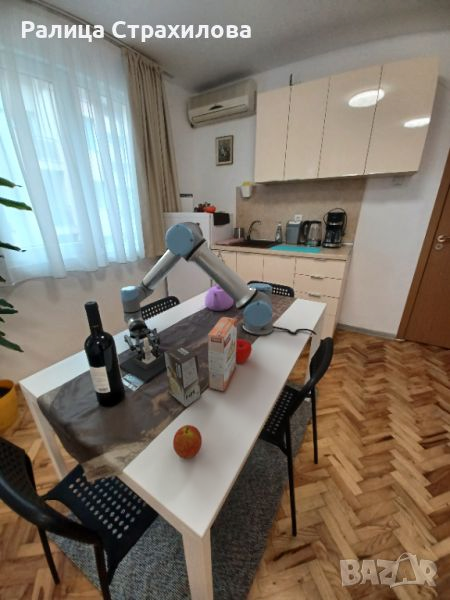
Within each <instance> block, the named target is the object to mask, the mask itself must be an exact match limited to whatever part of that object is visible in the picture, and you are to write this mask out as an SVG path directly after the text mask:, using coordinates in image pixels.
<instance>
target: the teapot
mask: <svg viewBox="0 0 450 600" xmlns="http://www.w3.org/2000/svg"><path fill="white" fill-rule="evenodd" d="M204 305H205V307H206V308H207V309H209V310H210V311H215V312H221V311H222V312H223V311H227V310H229V309H231V307H232V306H233V305H234V300H233V299H232V298H231V297H230V296H229V295H228V294H227V293H226V292H225V291H223V290H222V289H221V288H220V287H219V286H218V285H217V284H215V285H214V286H211V287H210V288H209V289H208V291H207V292H206V294H205V297H204Z"/></svg>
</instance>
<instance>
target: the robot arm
mask: <svg viewBox="0 0 450 600" xmlns="http://www.w3.org/2000/svg"><path fill="white" fill-rule="evenodd" d="M165 245H166V248H167V250H166V252H165V253H164V254H163V255H162V256H161V257H160V259H158V261H157V262H156V264H154V266H153V267H152V268H151V269H150V270H149V271H148V273H147V274H146V275H145V276H144V277H143V279H142V280H141V281H140V282H139V283H138V284H137V285H136V286H134V285H128V286H124V287H122V288H121V289H120V300H121V305H122V310H123V320H124V322H125V324H126V327H127V329H128V331H129V334H124V335H123V337H124V338H123V339H124V342H125V343H126V344H127V345H128V347H129V348H128V349H130V352H134V351H135V352H136V354H141V355H142V357H143V360H144V359H146V358H145V352H144V350H143V346H142V344H141V343H140V342H141V340H144V338H145V337H147V338H148V342H149V344H150V346H152V348H153V351H154V353H155V355H156V356H158V350H157V349H159V345H160V344H161V338H160V335H159V333H158V330H157V328H156V327H154V328H153V329H151V328H149V327H148V325H147V323H146V321H145V320H144V318H143V316H142V307H141V303H142V302H143V301H145V300H147V299H148V297H150V296H151V295H153V293H154V292H155V290H156V289H157V288H158V287H159V285H160V284H161V283H162V282H163V281H164V280H165V279H166V278H167V276H169V274H170V273H171V272H173V270H174V269H175V268H176V267H177V266H178V264H179V263H180V262H181V261H182V260H184V261H186V262H187V263H188V264H189V263H193V264H194V265H195V266H197V267H198V269H200V270H201V271H202V272H203V273H204V274H205V275H206V276H207V277H208V278H209V279H211V281H212V282H213V283H215V285H218V286H219V287H220V288H221V289H222V290H223V291H225V292H226V293H227V294H228V295H229V296H230V297H231V298H232V299H233V302H235V307H236V309H237V310H238V311H240V312H241V313H242V314H243V321H242V331H243V332H245V333H246V334H248V335H251V336H266V335H269V334H271V333H273V329H276V330H281V331H286V332H288V333H289V334H291V335H296V334H298V332H302V331H305V332H310V333H312V334H313V335H315V336H317V335H318V334H317V332H315V331H314V330H312V329H310V328H297V329H296V330H295V331H292V330H290V329H288V328H286V327H280V326H274V324H273V321H272V319H273V315H274V309H273V303H272V297H273V296H272V295H273V286H272V285H270V284H268V283H259V282H258V283H255V282H254V283H249V284H247V282H245V281H244V280H243V279H242V278H241V277H240V276H239V275H238V274H237V273H236V272H235V271H234V270H232V268H231V267H229V266H228V265H227V264H226V263H225V262H224V261H223V260H222V259H221V258H220V257H219V256H218V255H217V254H216V253H215V252H214V251H213V250H212V249H211V248H210V247H209V245H208V240H207V239H205V237H204V233H203V230H202V228H201V227H200V226H199V225H198V224H197V223H196V222H193V221H184V222H178V223H175V224H173V225H172V226H171V227H170V228H168V230H167V231H166V234H165ZM151 334H152V335H151ZM132 340H134V341H135V342H133V341H132ZM134 343H135V344H134Z"/></svg>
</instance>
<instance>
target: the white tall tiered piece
mask: <svg viewBox="0 0 450 600" xmlns="http://www.w3.org/2000/svg"><path fill="white" fill-rule="evenodd" d="M142 348H143V350H144V352H145V358H146V359H144V360H143V359H142V362H144V363H146V364H149V363H150V362H152V361H153V360H155V359H156V357H155V356H153V354H152V353H151V351H150V350H152V349H153V348H152V345H150V342H148V338H147V337H145V338H144V339H143V346H142Z"/></svg>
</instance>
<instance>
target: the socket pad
mask: <svg viewBox="0 0 450 600" xmlns="http://www.w3.org/2000/svg"><path fill="white" fill-rule="evenodd" d="M157 350H158V356H156V355H155V353H154V351H153V349H152V350H150V351H151V353H152V354H153V356H155V357H156V359H155V360H153V361H152V362H150V363H149V364H146V363H144V362H142V359H143V357H142V355H141V354H138V353H136V354H134V355H133V356H132V357H129V358H128V359H126V360H125V361H122V362H121V363H120V364H118V366H119V365H120V367H119V368H120V369H122V370H124V371H125V372H127V373H129V374H131V375H132V376H134V377H136V378H137V379H140V380H141V381H143V382H145V383H149V382H150V381H151V380H152V379H154V378H155V377H157V376H158V375H160V374H161V373H163V372H164V371H165V370H167V368H166V360H165V353H164V352H166V351H164V350H163V349H160V348H158V349H157Z"/></svg>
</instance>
